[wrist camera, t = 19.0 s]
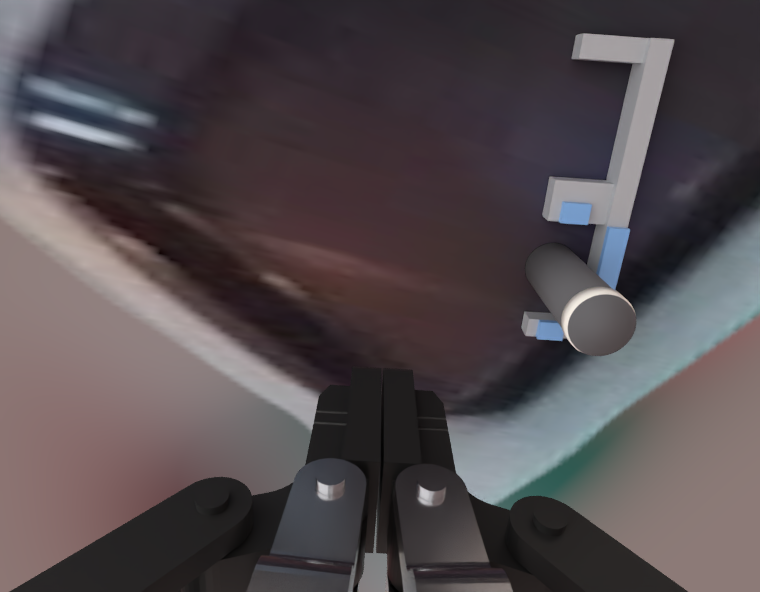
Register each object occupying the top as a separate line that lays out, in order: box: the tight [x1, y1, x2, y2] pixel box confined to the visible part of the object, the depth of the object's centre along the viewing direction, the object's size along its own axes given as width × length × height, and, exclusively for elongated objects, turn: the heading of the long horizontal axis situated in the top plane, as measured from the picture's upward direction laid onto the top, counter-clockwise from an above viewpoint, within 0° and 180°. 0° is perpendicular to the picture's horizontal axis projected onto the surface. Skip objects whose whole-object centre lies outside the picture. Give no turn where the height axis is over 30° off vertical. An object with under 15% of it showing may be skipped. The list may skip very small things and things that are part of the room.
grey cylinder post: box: [525, 243, 636, 356], centre depth 38 cm, size 4×4×11 cm
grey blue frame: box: [521, 33, 674, 341], centre depth 39 cm, size 22×6×2 cm, turn 176°
